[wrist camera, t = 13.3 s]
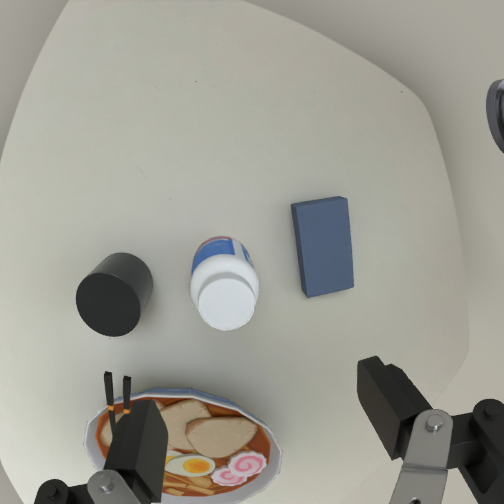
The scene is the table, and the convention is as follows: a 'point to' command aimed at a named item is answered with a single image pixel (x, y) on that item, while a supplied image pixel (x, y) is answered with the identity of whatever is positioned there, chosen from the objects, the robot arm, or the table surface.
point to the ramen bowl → (196, 444)
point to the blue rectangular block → (323, 245)
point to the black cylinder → (114, 294)
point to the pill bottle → (224, 283)
